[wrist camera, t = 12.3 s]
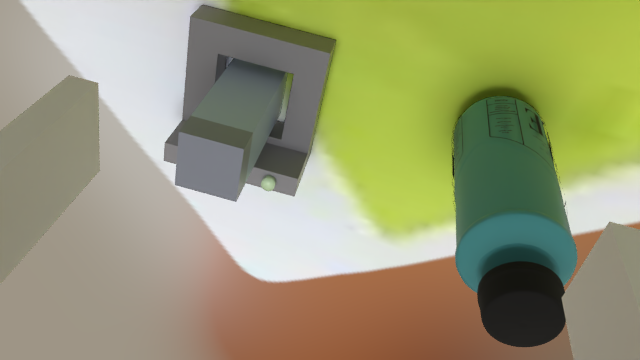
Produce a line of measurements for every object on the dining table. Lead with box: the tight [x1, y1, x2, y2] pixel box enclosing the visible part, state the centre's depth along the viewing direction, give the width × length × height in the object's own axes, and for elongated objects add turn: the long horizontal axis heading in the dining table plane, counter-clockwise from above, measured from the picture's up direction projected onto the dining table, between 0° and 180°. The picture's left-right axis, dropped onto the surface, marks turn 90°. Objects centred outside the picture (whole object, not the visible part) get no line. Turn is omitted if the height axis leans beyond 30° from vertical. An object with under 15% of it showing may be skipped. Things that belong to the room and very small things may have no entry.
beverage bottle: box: [452, 96, 577, 347], centre depth 37 cm, size 6×7×20 cm
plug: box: [175, 58, 288, 202], centre depth 42 cm, size 4×4×12 cm
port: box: [164, 5, 336, 196], centre depth 44 cm, size 10×10×7 cm
